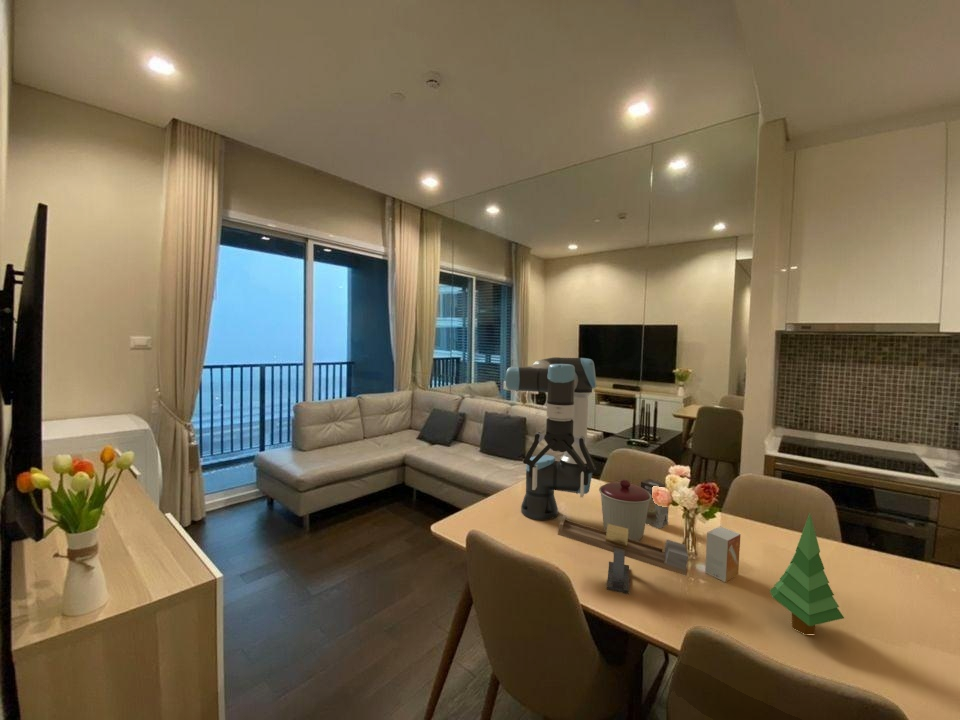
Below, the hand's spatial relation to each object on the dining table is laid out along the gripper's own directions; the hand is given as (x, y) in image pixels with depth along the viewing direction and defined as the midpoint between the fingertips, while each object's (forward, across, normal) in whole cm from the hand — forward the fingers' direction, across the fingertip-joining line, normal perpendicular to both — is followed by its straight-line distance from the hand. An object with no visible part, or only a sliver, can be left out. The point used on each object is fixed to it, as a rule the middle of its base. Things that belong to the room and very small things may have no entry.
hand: (557, 492), depth 114 cm
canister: (+28, +18, +41) cm, 52 cm away
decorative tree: (+28, +61, +7) cm, 68 cm away
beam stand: (+28, +17, +12) cm, 35 cm away
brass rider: (+17, +16, +12) cm, 26 cm away
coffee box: (+28, +28, +57) cm, 69 cm away
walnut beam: (+18, +17, +12) cm, 27 cm away
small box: (+28, +47, +27) cm, 61 cm away
